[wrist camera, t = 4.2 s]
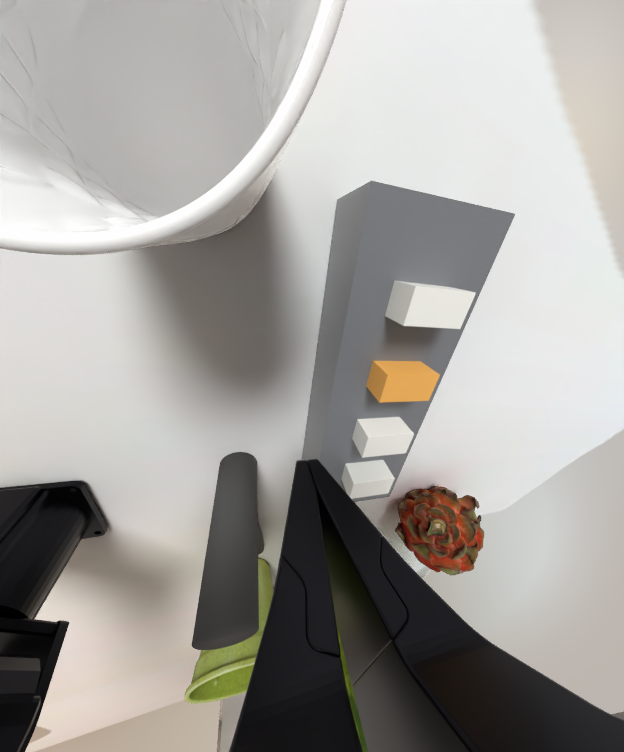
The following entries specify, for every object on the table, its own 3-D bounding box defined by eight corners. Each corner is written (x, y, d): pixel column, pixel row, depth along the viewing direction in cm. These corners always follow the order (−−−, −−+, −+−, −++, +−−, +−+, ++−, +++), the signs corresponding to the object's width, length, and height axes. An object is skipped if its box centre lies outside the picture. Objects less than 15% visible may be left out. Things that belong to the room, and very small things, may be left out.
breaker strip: (369, 459, 23) (399, 515, 18) (300, 466, 21) (314, 530, 16) (448, 222, 13) (556, 208, 9) (337, 199, 12) (394, 167, 7)
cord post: (256, 474, 20) (258, 637, 12) (221, 478, 20) (196, 655, 11) (256, 450, 19) (259, 616, 10) (218, 453, 18) (187, 635, 10)
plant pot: (217, 548, 25) (202, 675, 17) (294, 549, 29) (308, 654, 21) (193, 589, 28) (171, 712, 21) (265, 585, 32) (268, 687, 24)
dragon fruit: (383, 470, 27) (430, 477, 34) (369, 548, 25) (421, 540, 32) (464, 500, 20) (503, 502, 27) (452, 610, 18) (497, 583, 25)
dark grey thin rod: (264, 543, 26) (264, 554, 25) (253, 545, 26) (253, 557, 25) (248, 482, 21) (248, 494, 20) (235, 484, 20) (234, 497, 19)
